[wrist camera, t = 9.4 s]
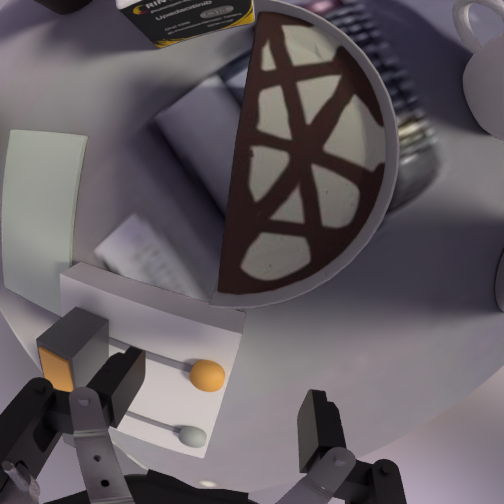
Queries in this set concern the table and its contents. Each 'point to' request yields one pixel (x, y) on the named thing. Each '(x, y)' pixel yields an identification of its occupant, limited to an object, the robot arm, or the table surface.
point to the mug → (483, 69)
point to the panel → (163, 353)
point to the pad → (39, 212)
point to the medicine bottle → (184, 17)
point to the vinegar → (63, 5)
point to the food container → (304, 160)
